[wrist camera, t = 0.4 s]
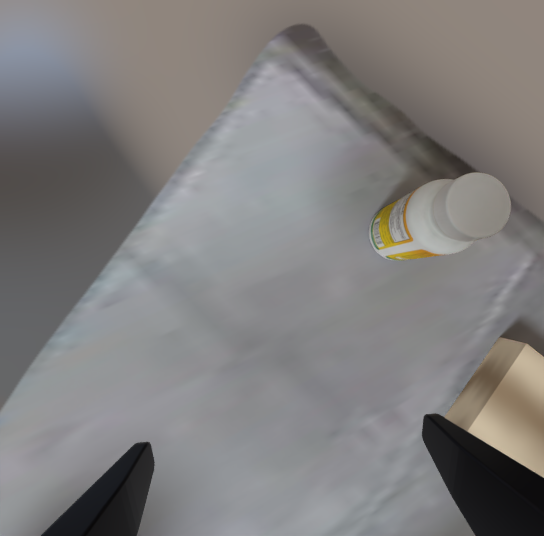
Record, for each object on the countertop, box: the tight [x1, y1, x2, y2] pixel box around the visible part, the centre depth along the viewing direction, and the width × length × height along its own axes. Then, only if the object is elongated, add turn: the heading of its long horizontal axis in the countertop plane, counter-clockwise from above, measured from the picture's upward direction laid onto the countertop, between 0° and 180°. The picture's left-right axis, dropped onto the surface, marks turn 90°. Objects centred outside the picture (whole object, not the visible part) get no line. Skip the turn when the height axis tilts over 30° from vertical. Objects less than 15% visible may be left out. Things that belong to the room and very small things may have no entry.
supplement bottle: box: [369, 172, 511, 261], centre depth 20 cm, size 5×5×10 cm
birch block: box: [444, 337, 544, 478], centre depth 23 cm, size 10×10×3 cm
